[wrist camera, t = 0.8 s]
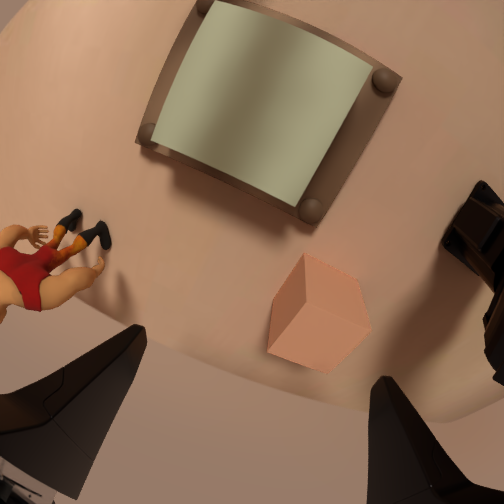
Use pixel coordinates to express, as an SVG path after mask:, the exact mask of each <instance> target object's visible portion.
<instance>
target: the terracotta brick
mask: <svg viewBox="0 0 504 504" xmlns="http://www.w3.org/2000/svg"><path fill="white" fill-rule="evenodd" d="M371 331H372V329H371V326H370V322H369V318H368V315H367V311H366V308H365V304H364V301H363V297H362V294H361V291H360V287H359V284H358V281H357V279H355V278H353V277H351V276H349V275H347V274H345V273H344V272H342V271H340V270H338V269H336V268H334V267H332V266H330V265H328V264H326V263H324V262H322V261H320V260H318V259H316V258H314V257H312V256H310V255H308V254H306V253H303V255H302V257H301V258H300V260H299V261H298V263H297V264H296V266H295V267H294V269H293V270H292V272H291V273H290V275H289V276H288V278H287V279H286V281H285V282H284V284H283V285H282V287H281V288H280V290H279V291H278V293H277V294H276V296H275V297H274V299H273V307H272V315H271V323H270V331H269V339H268V346H267V352H268V353H271V354H273V355H276V356H279V357H281V358H284V359H287V360H289V361H292V362H295V363H297V364H300V365H303V366H306V367H309V368H311V369H314V370H317V371H320V372H323V373H326V374H328V373H329V372H330V371H331V370H332V369H334V368H335V367H336V366H337V365H338V364H339V363H340V362H341V361H342V360H343V359H344V358H345V357H346V356H347V355H348V354H349V353H351V352H352V351H353V350H354V349H355V348H356V347H357V346H358V345H359V344H360V343H361V342H362V341H363V340H364V339H365V338H366V337H367V336H368V334H369V333H370V332H371Z"/></svg>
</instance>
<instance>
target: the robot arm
mask: <svg viewBox="0 0 504 504" xmlns="http://www.w3.org/2000/svg"><path fill="white" fill-rule="evenodd" d="M482 185H483V188H482V189H481V187H482ZM447 241H449V242H448V243H447V244H446V242H447ZM441 243H442V246H443V247H444V248H445V249H446V250H448V251H449V252H450V253H451V254H453V255H454V256H455V257H456V258H458V259H459V260H460V261H461V262H463V263H464V264H465V265H466V266H467V267H469V268H470V269H471V270H472V271H473V272H474V273H476V274H477V275H478V276H480V277H481V278H482V279H483V280H484V281H485V283H486V284H487V285H488V286H489V288H490V289H491V290H492V291H493V293H494V297H493V299H492V301H491V304H490V306H489V309H488V311H487V312H486V313H485V315H484V317H483V323H484V328H485V334H484V339H485V346H486V347H485V349H484V353H485V355H486V357H487V360H488V362H489V363H490V365H491V366H492V367H493V369H494V370H495V371H496V373H495V374H494V375H493V380H494V381H496V382H498V383H500V384H501V385H503V386H504V203H503V202H502V200H501V199H500V198H499V197H498V196H497V194H496V193H495V192H494V191H493V190H492V189H491V187H490V186H489V185H488V184H487V183H486V182H484V181H482V180H480V181H479V182H478V183H477V185H476V186H475V188H474V190H473V192H472V193H471V195H470V197H469V198H468V200H467V202H466V203H465V205H464V207H463V208H462V210H461V212H460V213H459V215H458V216H457V218H456V219H455V221H454V223H453V224H452V226H451V227H450V229H449V230H448V232H447V233H446V234H445V236H444V237H443V239H442V242H441ZM146 346H147V337H146V329H145V327H144V326H141V325H138V324H133V325H132V326H130V327H128V328H127V329H125V330H123V331H122V332H120V333H119V334H117V335H115V336H113V337H112V338H110V339H108V340H107V341H105V342H103V343H102V344H100V345H98V346H97V347H95V348H94V349H92V350H90V351H89V352H87V353H85V354H84V355H82V356H80V357H79V358H77V359H75V360H74V361H72V362H70V363H69V364H67V365H65V367H62V368H60V369H59V370H57V371H55V372H54V373H52V374H50V375H48V376H47V377H44V378H42V379H40V380H38V381H37V382H34V383H32V384H30V385H28V386H25V387H23V388H21V389H19V390H16V391H14V392H12V393H8V394H0V504H55V502H54V497H55V495H56V493H57V491H58V492H60V493H62V494H64V495H66V496H68V497H70V498H72V499H75V500H77V499H78V497H79V494H80V492H81V490H82V487H83V485H84V483H85V480H86V478H87V476H88V474H89V471H90V469H91V467H92V465H93V461H94V460H95V458H96V455H97V454H98V451H99V449H100V447H101V445H102V443H103V441H104V439H105V437H106V434H107V432H108V430H109V428H110V426H111V424H112V422H113V420H114V418H115V416H116V414H117V412H118V410H119V407H120V406H121V404H122V402H123V400H124V398H125V396H126V394H127V392H128V390H129V388H130V386H131V384H132V382H133V380H134V377H135V375H136V372H137V370H138V367H139V364H140V362H141V359H142V356H143V354H144V351H145V349H146ZM368 447H369V448H368V455H369V456H368V489H367V504H504V491H500V490H495V489H491V488H487V487H484V486H480V485H477V484H474V483H472V482H471V481H470V480H468V479H467V478H466V477H465V475H464V474H463V473H462V472H461V471H460V469H459V468H458V467H457V466H456V465H455V463H454V462H453V461H452V460H451V458H450V457H449V456H448V455H447V453H446V452H445V451H444V449H443V448H442V446H441V445H440V444H439V442H438V441H437V440H436V438H435V436H434V435H433V433H432V432H431V431H430V429H429V428H428V426H427V425H426V423H425V422H424V421H423V419H422V418H421V416H420V415H419V414H418V412H417V411H416V409H415V408H414V407H413V405H412V404H411V402H410V401H409V400H408V398H407V397H406V395H405V394H404V393H403V391H402V390H401V389H400V387H399V386H398V385H397V383H396V382H395V380H394V379H393V378H392V377H391V376H384V375H383V376H381V377H380V378H379V379H378V380H377V382H376V383H375V384H374V385H373V387H372V389H371V393H370V409H369V421H368Z"/></svg>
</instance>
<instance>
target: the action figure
mask: <svg viewBox="0 0 504 504" xmlns="http://www.w3.org/2000/svg"><path fill="white" fill-rule="evenodd" d="M80 216H81V211H80V210H79V209H75V210H74V211H73V212H72V213H71V214H70V215H68V216H66V217H64V218H63V219H61V220H60V221H59V223H58V224H57V225H56V227H55V229H54V235H53V239H52V240H51V241H50V242H48V243H47V244H46V243H45V242H43V241H41V240H39V239H38V238H48V236H47V235H39V233H48V232H49V231H48V230H38V229H43V228H44V229H47V228H48V227H47V226H43V225H40V226H33V227H31V228H29V229H26V228H25V227H23V226H20V225H11V226H9V227H6V228H4V229H3V230H2V231H1V233H0V324H1V323H2V321H3V319H4V317H5V316H6V313H7V310H6V308H7V306H9V305H11V304H14V305H17V306H20V307H23V308H25V309H27V310H34V311H39V312H41V311H42V310H50V309H53V308H56V307H59V306H60V305H62V304H63V303H64V302H66V301H67V300H69V299H70V298H71V297H72V296H73V295H74V294H75V293H76V292H78V291H81V290H84V289H86V288H89V287H90V286H91V285H92V284H93V282H94V280H95V278H97V277H98V276H99V275H100V274H101V273H102V271H103V269H104V267H105V263H104V260H103V258H102V257H100V256H99V257H98V263H99V265H96V266H93V267H92V268H87V267H77V268H70V269H67V270H65V271H64V272H62V273H61V274H60V275H57V276H52V275H50V274H49V273H50V272H51V271H52V270H53V269H55V268H56V267H58V266H60V265H61V264H63V263H64V262H65V261H66V260H68V259H69V258H70V257H71V256H73V255H76V254H77V253H79V252H80V251H81V250H83V249H85V248H86V247H87V246H89V245H90V244H91V242H92V241H93V239H94V238H95V237H96V236H97V235H98V236H99V238H100V243H101V246H102V248H103V249H104V250H107V249H109V248H110V245H111V241H110V236H109V233H108V229H107V226H106V224H105V222H103V221H101V220H100V221H99V222H98V223H97V225H96V226H95V227H94V228H91V229H88V230H86V231H83V232H81V233H79V234H78V236H77V237H76V238H75V240H74V242H73V244H72V245H71V246H69V247H66V248H64V249H62V250H60V251H57V248H58V246H59V244H60V242H61V240H62V239H63V237H64V235H65V234H66V233H67V231H68V230H69V231H71V232H72V231H74V230H75V229H76V222H77V220H78V219H79V218H80ZM23 239H28V240H29V242H30V243H31V244H32V245H33V246H34V247H35V248H36V249H39V250H38V251H37V252H36V253H34V254H32V255H29V254H24V253H20V252H18V251H17V250H16V249H14V245H15V244H16V242H17V241H18V240H23ZM35 242H37V243H40V244H42V245H43V246H42V247H40V246H39V245H36V244H35Z"/></svg>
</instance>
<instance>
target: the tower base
mask: <svg viewBox="0 0 504 504" xmlns="http://www.w3.org/2000/svg"><path fill="white" fill-rule="evenodd" d="M401 80H402V77H401V76H400V75H398V74H397V73H395V72H394V71H392V70H391V69H389V68H388V67H386V66H385V65H383V64H382V63H380V62H379V61H377V60H375V59H374V58H372V57H371V56H369V55H367V54H366V53H364V52H362V51H361V50H359V49H357V48H355V47H354V46H352V45H350V44H348V43H346V42H344V41H343V40H341V39H339V38H337V37H335V36H333V35H331V34H329V33H327V32H325V31H323V30H321V29H319V28H316V27H314V26H312V25H310V24H308V23H305V22H303V21H301V20H298V19H296V18H293V17H291V16H288V15H286V14H283V13H280V12H278V11H275V10H272V9H269V8H266V7H264V6H261V5H257V4H254V3H251V2H248V1H244V0H197V1H196V3H195V5H194V7H193V8H192V10H191V12H190V14H189V15H188V17H187V19H186V21H185V23H184V25H183V27H182V28H181V30H180V32H179V34H178V36H177V38H176V40H175V42H174V44H173V46H172V48H171V51H170V53H169V55H168V57H167V59H166V61H165V64H164V66H163V68H162V70H161V73H160V75H159V77H158V80H157V82H156V85H155V87H154V89H153V92H152V95H151V97H150V100H149V102H148V105H147V108H146V110H145V113H144V116H143V119H142V122H141V125H140V127H139V130H138V133H137V136H136V140H135V143H137V144H139V145H142V146H144V147H146V148H149V149H151V150H153V151H156V152H158V153H161V154H163V155H165V156H168V157H170V158H172V159H174V160H177V161H179V162H181V163H184V164H186V165H188V166H190V167H192V168H195V169H197V170H199V171H201V172H204V173H206V174H208V175H210V176H212V177H214V178H217V179H219V180H221V181H223V182H225V183H227V184H229V185H232V186H234V187H236V188H238V189H240V190H242V191H244V192H246V193H248V194H250V195H252V196H254V197H256V198H258V199H261V200H263V201H265V202H267V203H269V204H271V205H273V206H275V207H277V208H279V209H281V210H283V211H284V212H286V213H288V214H290V215H292V216H294V217H296V218H298V219H300V220H302V221H304V222H306V223H308V224H310V225H312V226H313V227H315V228H317V226H318V225H319V223H320V222H321V220H322V218H323V217H324V215H325V213H326V212H327V210H328V209H329V207H330V205H331V204H332V202H333V200H334V199H335V197H336V195H337V194H338V192H339V190H340V189H341V187H342V185H343V184H344V182H345V180H346V179H347V177H348V175H349V174H350V172H351V170H352V169H353V167H354V165H355V163H356V162H357V160H358V158H359V156H360V155H361V153H362V151H363V150H364V148H365V146H366V144H367V143H368V141H369V139H370V137H371V135H372V134H373V132H374V130H375V128H376V127H377V125H378V123H379V121H380V119H381V117H382V116H383V114H384V112H385V110H386V108H387V107H388V105H389V103H390V101H391V99H392V97H393V95H394V93H395V92H396V90H397V88H398V86H399V84H400V82H401Z"/></svg>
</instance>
